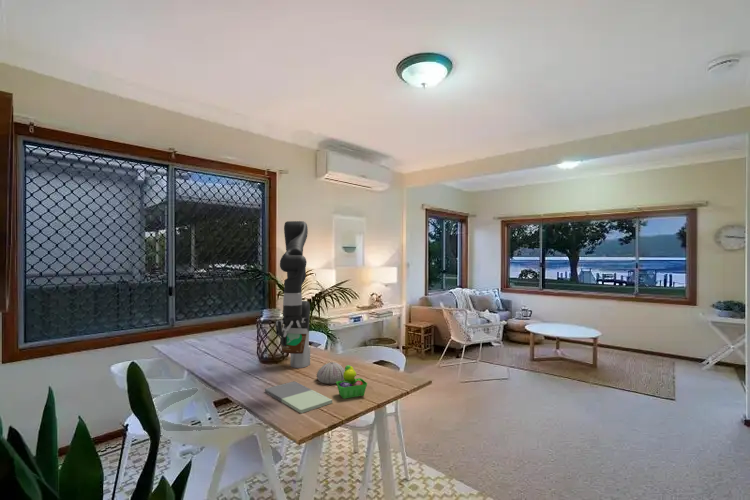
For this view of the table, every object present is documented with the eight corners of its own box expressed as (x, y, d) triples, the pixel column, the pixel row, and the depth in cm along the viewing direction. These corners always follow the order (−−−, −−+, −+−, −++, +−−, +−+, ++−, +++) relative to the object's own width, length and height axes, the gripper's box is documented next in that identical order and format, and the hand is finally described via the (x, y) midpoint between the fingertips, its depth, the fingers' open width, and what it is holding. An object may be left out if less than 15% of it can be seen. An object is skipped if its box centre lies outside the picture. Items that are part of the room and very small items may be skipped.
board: (294, 383, 161) (294, 381, 161) (332, 403, 140) (332, 399, 141) (264, 391, 151) (264, 388, 151) (300, 413, 131) (300, 410, 131)
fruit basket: (341, 400, 143) (341, 371, 143) (334, 392, 151) (334, 365, 151) (367, 396, 148) (368, 368, 148) (360, 389, 156) (360, 362, 156)
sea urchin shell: (346, 385, 160) (346, 367, 160) (315, 386, 159) (315, 367, 159) (346, 375, 173) (346, 358, 173) (317, 376, 172) (318, 359, 172)
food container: (272, 351, 147) (274, 326, 149) (281, 350, 152) (284, 326, 154) (296, 355, 142) (299, 328, 143) (306, 353, 147) (308, 328, 149)
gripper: (303, 301, 157) (302, 340, 156) (272, 304, 147) (271, 345, 146) (312, 303, 151) (311, 343, 150) (280, 305, 141) (280, 349, 141)
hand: (291, 344), depth 148 cm, fingers closed on food container, 6 cm apart
